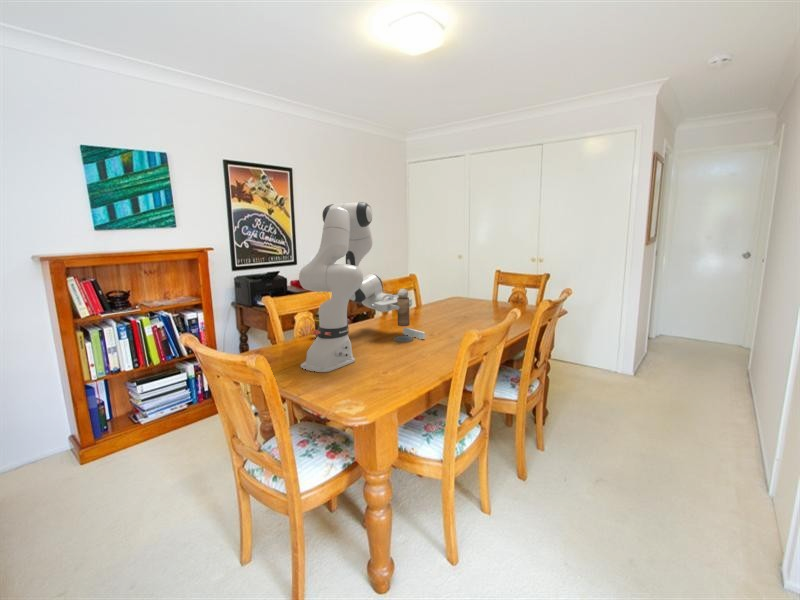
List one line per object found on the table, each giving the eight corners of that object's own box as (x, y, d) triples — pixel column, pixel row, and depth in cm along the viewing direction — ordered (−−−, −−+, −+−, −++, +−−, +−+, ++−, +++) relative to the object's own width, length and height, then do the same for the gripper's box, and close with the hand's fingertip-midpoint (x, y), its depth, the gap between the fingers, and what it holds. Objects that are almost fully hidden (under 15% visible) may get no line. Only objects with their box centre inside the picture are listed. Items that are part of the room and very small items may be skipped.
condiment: (311, 338, 194) (310, 314, 192) (324, 334, 201) (322, 311, 199) (322, 340, 190) (320, 315, 188) (334, 336, 197) (333, 312, 195)
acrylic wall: (424, 339, 188) (424, 332, 187) (423, 340, 187) (423, 332, 187) (405, 333, 198) (404, 327, 198) (403, 334, 198) (403, 327, 197)
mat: (408, 343, 183) (408, 341, 183) (391, 340, 187) (391, 339, 187) (416, 338, 191) (416, 336, 191) (399, 336, 195) (399, 334, 195)
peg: (406, 326, 184) (405, 289, 181) (395, 325, 186) (394, 289, 183) (411, 324, 189) (410, 287, 186) (400, 322, 191) (400, 287, 188)
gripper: (368, 299, 188) (387, 303, 178) (400, 293, 201) (419, 296, 191) (369, 312, 189) (388, 317, 179) (400, 305, 203) (419, 309, 193)
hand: (404, 306), depth 185 cm, fingers closed on peg, 6 cm apart
